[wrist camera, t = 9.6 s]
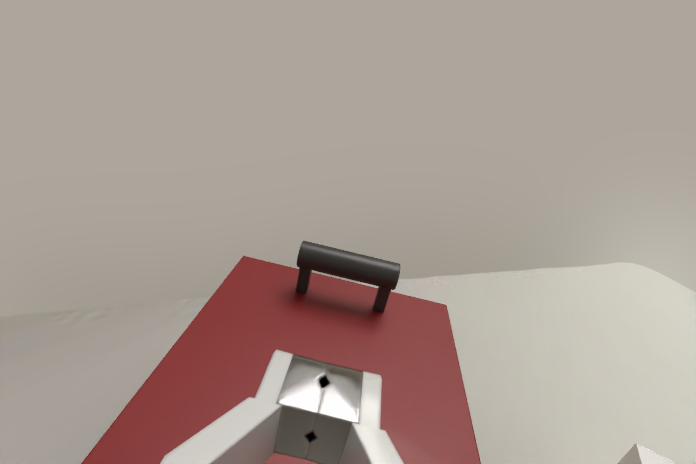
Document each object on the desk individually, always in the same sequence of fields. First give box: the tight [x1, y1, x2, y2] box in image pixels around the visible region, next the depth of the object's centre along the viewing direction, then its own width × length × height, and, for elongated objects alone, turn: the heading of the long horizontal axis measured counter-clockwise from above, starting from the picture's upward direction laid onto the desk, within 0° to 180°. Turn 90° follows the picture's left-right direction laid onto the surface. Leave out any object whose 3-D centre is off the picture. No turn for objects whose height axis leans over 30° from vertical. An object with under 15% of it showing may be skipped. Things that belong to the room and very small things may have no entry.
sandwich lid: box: [81, 241, 481, 464], centre depth 17 cm, size 16×14×5 cm
